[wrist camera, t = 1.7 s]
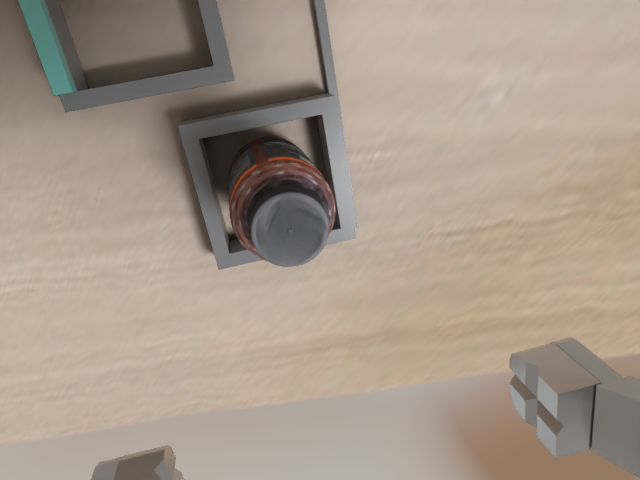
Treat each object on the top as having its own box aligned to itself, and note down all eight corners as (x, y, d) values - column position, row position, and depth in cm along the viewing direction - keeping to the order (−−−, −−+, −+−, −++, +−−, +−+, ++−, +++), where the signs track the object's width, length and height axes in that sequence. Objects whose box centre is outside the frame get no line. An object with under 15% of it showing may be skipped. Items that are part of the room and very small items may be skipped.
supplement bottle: (227, 216, 34) (226, 285, 23) (229, 133, 32) (228, 168, 21) (308, 218, 35) (341, 285, 24) (315, 138, 33) (354, 174, 22)
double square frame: (304, -119, 27) (313, -142, 24) (355, 225, 36) (367, 240, 33) (11, -76, 26) (-18, -95, 23) (138, 274, 34) (129, 295, 31)
